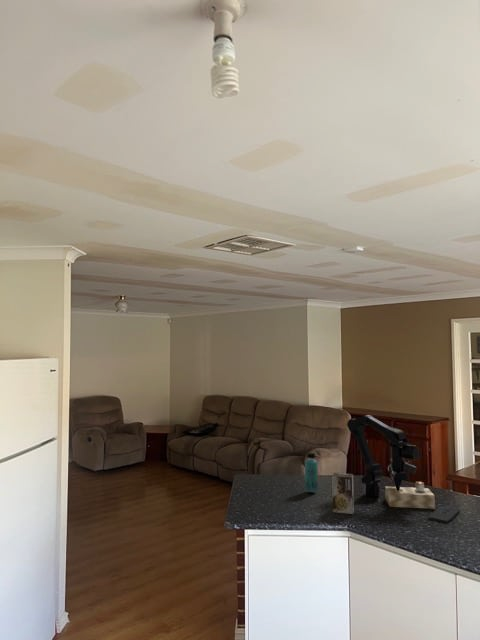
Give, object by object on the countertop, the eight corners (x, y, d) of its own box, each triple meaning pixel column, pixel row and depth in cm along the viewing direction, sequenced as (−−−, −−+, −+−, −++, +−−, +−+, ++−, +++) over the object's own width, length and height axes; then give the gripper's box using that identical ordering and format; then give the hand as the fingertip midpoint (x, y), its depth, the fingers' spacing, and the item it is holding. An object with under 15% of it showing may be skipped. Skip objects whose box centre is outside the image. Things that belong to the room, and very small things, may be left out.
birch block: (389, 506, 217) (389, 493, 218) (385, 498, 229) (385, 486, 230) (434, 508, 215) (434, 495, 215) (428, 500, 226) (427, 488, 227)
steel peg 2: (417, 495, 220) (416, 483, 221) (415, 493, 224) (414, 481, 224) (424, 496, 220) (424, 483, 220) (423, 493, 223) (422, 481, 224)
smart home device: (460, 509, 211) (447, 520, 195) (460, 513, 210) (447, 525, 195) (441, 505, 216) (427, 516, 200) (441, 509, 216) (427, 520, 200)
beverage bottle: (303, 491, 242) (303, 451, 244) (316, 490, 243) (315, 451, 244) (306, 494, 236) (306, 454, 237) (319, 494, 236) (318, 454, 238)
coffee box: (354, 510, 212) (353, 473, 213) (353, 514, 206) (352, 477, 207) (334, 507, 215) (333, 472, 216) (332, 512, 209) (331, 475, 210)
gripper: (419, 461, 214) (420, 496, 213) (410, 453, 233) (411, 485, 231) (394, 461, 216) (395, 495, 214) (387, 452, 234) (388, 484, 233)
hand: (398, 490), depth 223 cm, fingers closed, pressing on steel peg 1
